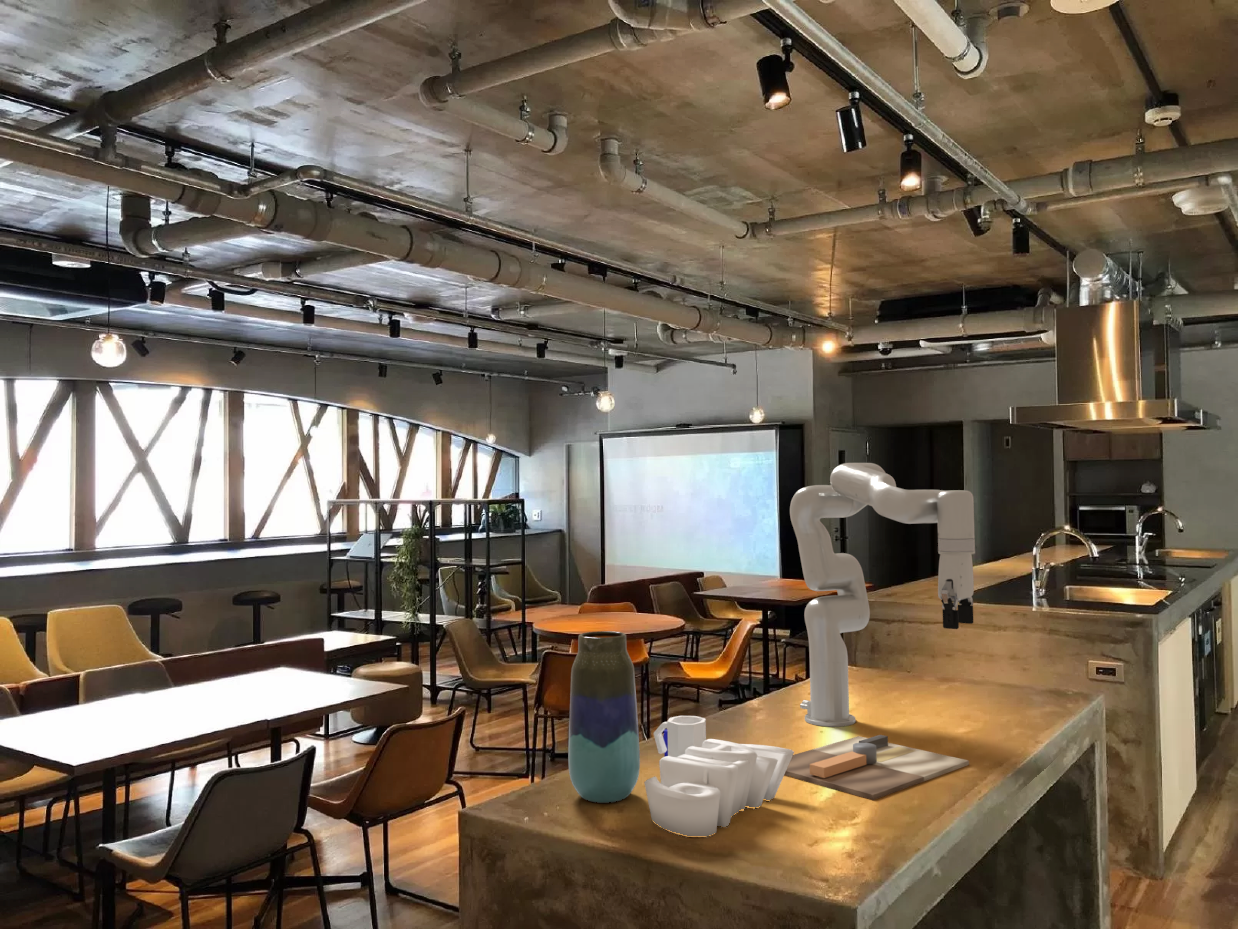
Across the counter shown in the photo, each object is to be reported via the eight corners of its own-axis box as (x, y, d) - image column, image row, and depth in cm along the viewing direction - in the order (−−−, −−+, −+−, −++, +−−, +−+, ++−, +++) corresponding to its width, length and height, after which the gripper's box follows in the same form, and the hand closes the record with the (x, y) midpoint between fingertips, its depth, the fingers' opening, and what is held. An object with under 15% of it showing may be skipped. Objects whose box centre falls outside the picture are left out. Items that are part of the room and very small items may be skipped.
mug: (713, 764, 204) (712, 718, 205) (695, 774, 197) (694, 726, 197) (664, 756, 211) (663, 712, 211) (645, 766, 203) (644, 720, 204)
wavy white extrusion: (731, 781, 192) (730, 728, 193) (804, 796, 182) (802, 741, 182) (622, 830, 165) (621, 769, 165) (700, 851, 155) (699, 786, 155)
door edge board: (761, 769, 200) (760, 754, 200) (858, 740, 222) (858, 727, 222) (873, 800, 179) (872, 784, 179) (969, 765, 200) (968, 751, 200)
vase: (615, 813, 174) (613, 641, 175) (554, 801, 181) (552, 636, 182) (653, 792, 185) (650, 631, 186) (594, 782, 193) (592, 627, 194)
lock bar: (862, 756, 204) (861, 741, 204) (881, 761, 200) (881, 745, 200) (807, 773, 192) (807, 757, 192) (826, 778, 188) (826, 762, 188)
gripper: (952, 544, 215) (954, 620, 215) (925, 548, 202) (927, 629, 201) (986, 545, 211) (988, 622, 210) (960, 549, 197) (962, 632, 197)
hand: (958, 625), depth 206 cm, fingers open, 9 cm apart
